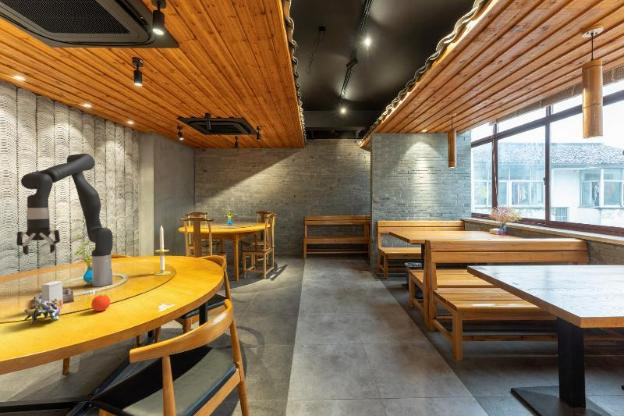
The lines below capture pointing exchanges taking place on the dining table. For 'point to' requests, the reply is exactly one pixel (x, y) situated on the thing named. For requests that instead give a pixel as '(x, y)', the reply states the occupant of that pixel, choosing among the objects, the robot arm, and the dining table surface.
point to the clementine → (100, 302)
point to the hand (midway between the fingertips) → (39, 253)
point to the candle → (162, 255)
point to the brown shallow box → (67, 298)
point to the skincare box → (53, 292)
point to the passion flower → (45, 310)
